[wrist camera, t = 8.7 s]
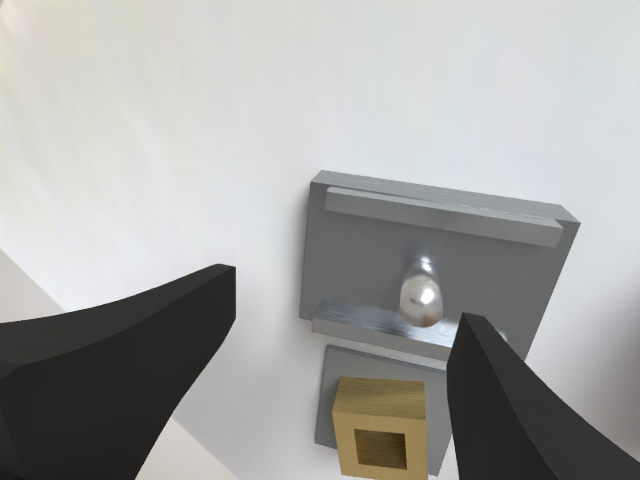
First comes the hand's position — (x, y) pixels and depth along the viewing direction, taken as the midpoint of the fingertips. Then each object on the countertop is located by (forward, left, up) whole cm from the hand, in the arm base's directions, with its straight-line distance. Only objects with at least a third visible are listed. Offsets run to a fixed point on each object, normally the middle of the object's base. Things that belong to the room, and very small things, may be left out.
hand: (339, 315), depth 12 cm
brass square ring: (-3, +14, -10) cm, 17 cm away
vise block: (-3, +2, -10) cm, 11 cm away
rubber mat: (-3, +14, -10) cm, 17 cm away
